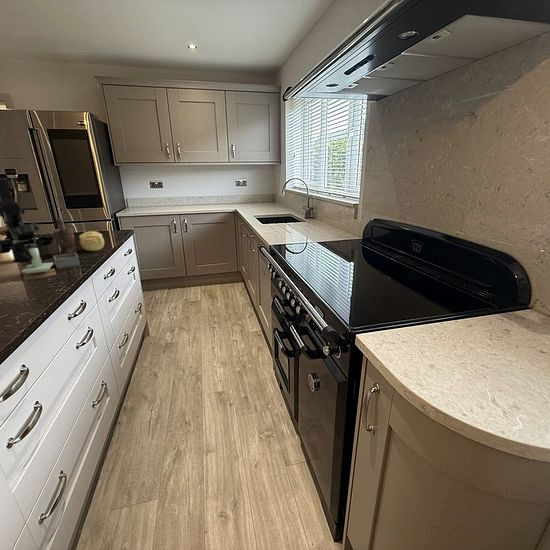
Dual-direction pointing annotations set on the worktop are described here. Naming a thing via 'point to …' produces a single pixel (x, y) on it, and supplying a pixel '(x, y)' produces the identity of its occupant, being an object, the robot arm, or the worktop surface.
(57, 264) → the storage box
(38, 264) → the lid
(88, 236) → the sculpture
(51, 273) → the walnut board
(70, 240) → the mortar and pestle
